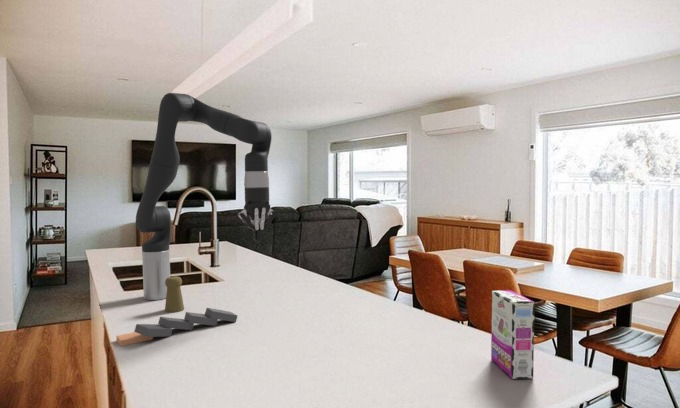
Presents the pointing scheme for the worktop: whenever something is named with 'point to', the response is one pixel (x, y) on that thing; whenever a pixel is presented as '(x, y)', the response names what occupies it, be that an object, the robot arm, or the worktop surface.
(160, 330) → the domino
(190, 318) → the domino
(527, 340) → the candy bar box
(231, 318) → the domino
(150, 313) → the worktop surface
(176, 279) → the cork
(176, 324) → the domino
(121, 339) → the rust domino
